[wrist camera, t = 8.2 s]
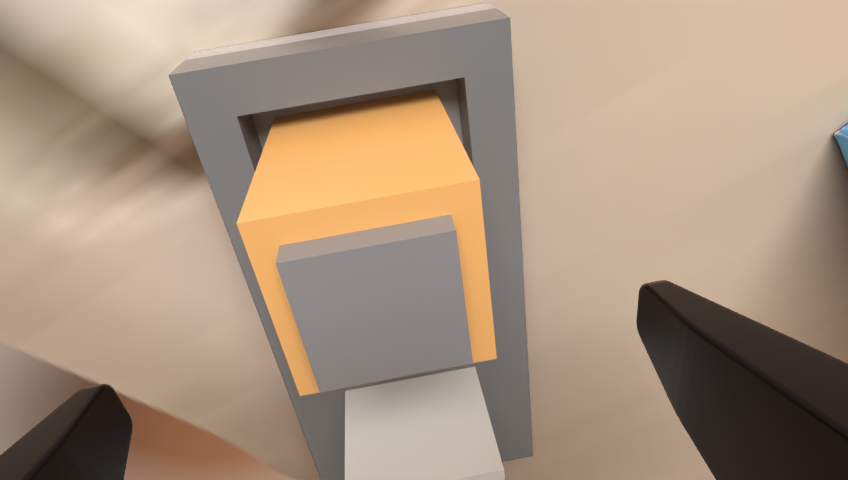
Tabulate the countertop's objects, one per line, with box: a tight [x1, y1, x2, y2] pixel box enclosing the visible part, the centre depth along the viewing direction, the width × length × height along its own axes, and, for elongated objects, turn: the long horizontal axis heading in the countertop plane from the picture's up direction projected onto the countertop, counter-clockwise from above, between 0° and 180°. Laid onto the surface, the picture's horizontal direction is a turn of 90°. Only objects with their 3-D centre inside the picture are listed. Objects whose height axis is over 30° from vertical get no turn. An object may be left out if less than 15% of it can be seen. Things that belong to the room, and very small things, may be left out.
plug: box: [236, 89, 497, 396], centre depth 13 cm, size 4×4×7 cm
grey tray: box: [169, 3, 533, 480], centre depth 16 cm, size 16×8×6 cm, turn 8°
